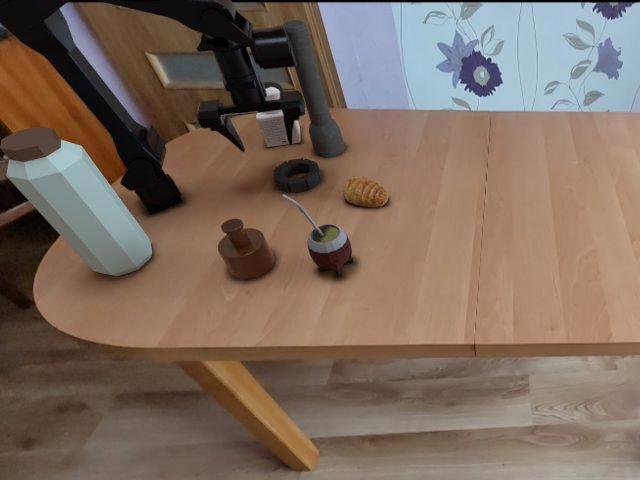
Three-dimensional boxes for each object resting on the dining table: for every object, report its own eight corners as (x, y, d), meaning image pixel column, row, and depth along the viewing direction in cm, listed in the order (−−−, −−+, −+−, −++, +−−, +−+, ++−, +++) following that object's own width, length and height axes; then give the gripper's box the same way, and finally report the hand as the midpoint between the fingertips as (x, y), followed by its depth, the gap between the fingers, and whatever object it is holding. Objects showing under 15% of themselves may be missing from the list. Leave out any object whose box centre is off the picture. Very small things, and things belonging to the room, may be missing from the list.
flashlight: (336, 138, 115) (309, 147, 112) (303, 14, 94) (269, 22, 91) (349, 150, 111) (322, 160, 108) (318, 25, 91) (282, 33, 88)
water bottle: (146, 276, 83) (48, 154, 64) (85, 282, 82) (-33, 160, 63) (164, 238, 89) (80, 118, 71) (107, 244, 88) (7, 122, 70)
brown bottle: (239, 286, 82) (216, 246, 75) (224, 262, 85) (200, 223, 79) (281, 265, 85) (263, 226, 78) (264, 244, 89) (245, 204, 82)
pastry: (395, 195, 100) (393, 180, 97) (378, 213, 96) (375, 199, 93) (358, 184, 102) (354, 170, 99) (340, 202, 98) (336, 187, 95)
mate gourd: (360, 272, 84) (341, 207, 73) (316, 286, 82) (289, 221, 71) (350, 246, 89) (330, 181, 78) (307, 259, 86) (281, 194, 75)
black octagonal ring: (319, 165, 107) (316, 155, 105) (322, 188, 101) (319, 178, 99) (277, 171, 105) (273, 162, 103) (277, 195, 99) (273, 186, 97)
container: (268, 131, 117) (248, 80, 107) (300, 127, 118) (283, 76, 109) (267, 147, 112) (246, 95, 102) (300, 143, 113) (283, 91, 104)
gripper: (291, 49, 92) (312, 122, 103) (187, 59, 88) (221, 134, 99) (292, 73, 85) (315, 148, 96) (179, 85, 81) (217, 162, 92)
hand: (267, 147), depth 96 cm, fingers open, 9 cm apart
